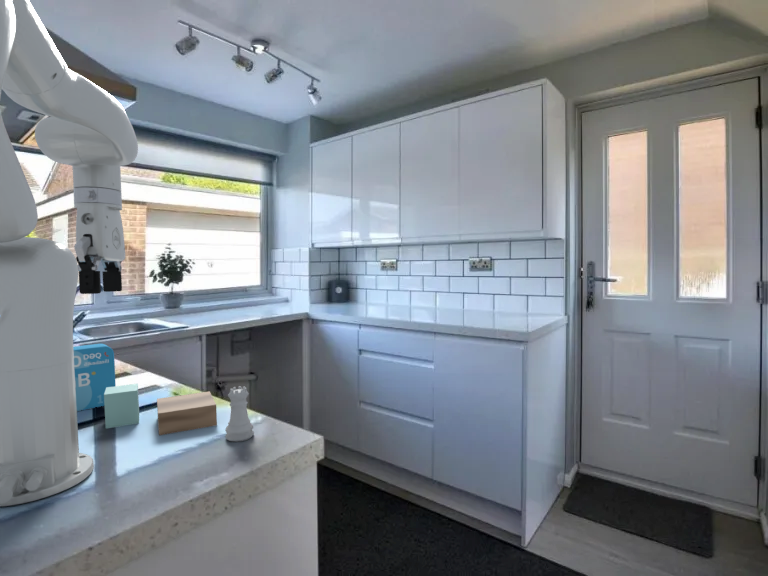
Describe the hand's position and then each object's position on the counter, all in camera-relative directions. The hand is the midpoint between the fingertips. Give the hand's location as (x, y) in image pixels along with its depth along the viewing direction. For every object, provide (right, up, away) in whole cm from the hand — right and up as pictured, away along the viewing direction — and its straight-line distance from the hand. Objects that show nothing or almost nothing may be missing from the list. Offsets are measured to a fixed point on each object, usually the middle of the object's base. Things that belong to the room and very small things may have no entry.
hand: (102, 292), depth 83 cm
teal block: (+6, -23, -4) cm, 24 cm away
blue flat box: (-7, -23, +4) cm, 24 cm away
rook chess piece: (+30, -24, -11) cm, 40 cm away
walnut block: (+18, -23, -4) cm, 30 cm away
